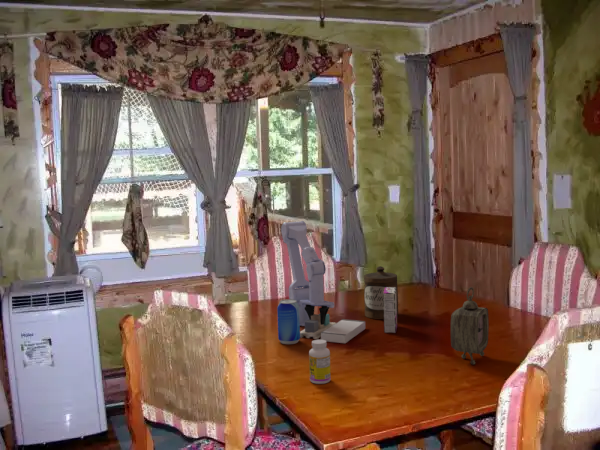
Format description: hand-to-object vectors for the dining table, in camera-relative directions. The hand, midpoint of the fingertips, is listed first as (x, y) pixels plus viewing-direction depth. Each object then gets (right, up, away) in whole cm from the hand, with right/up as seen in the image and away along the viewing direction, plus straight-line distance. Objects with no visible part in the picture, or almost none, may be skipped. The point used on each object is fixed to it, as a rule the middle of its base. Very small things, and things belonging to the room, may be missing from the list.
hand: (317, 323), depth 254 cm
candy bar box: (+30, -3, +1) cm, 30 cm away
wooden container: (+29, 0, +24) cm, 38 cm away
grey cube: (-2, -2, -5) cm, 6 cm away
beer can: (-11, -5, -12) cm, 17 cm away
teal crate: (+3, -1, +5) cm, 6 cm away
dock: (+10, -4, -5) cm, 12 cm away
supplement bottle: (-1, -9, -56) cm, 57 cm away
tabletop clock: (+51, -6, -40) cm, 65 cm away
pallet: (0, -4, 0) cm, 4 cm away
